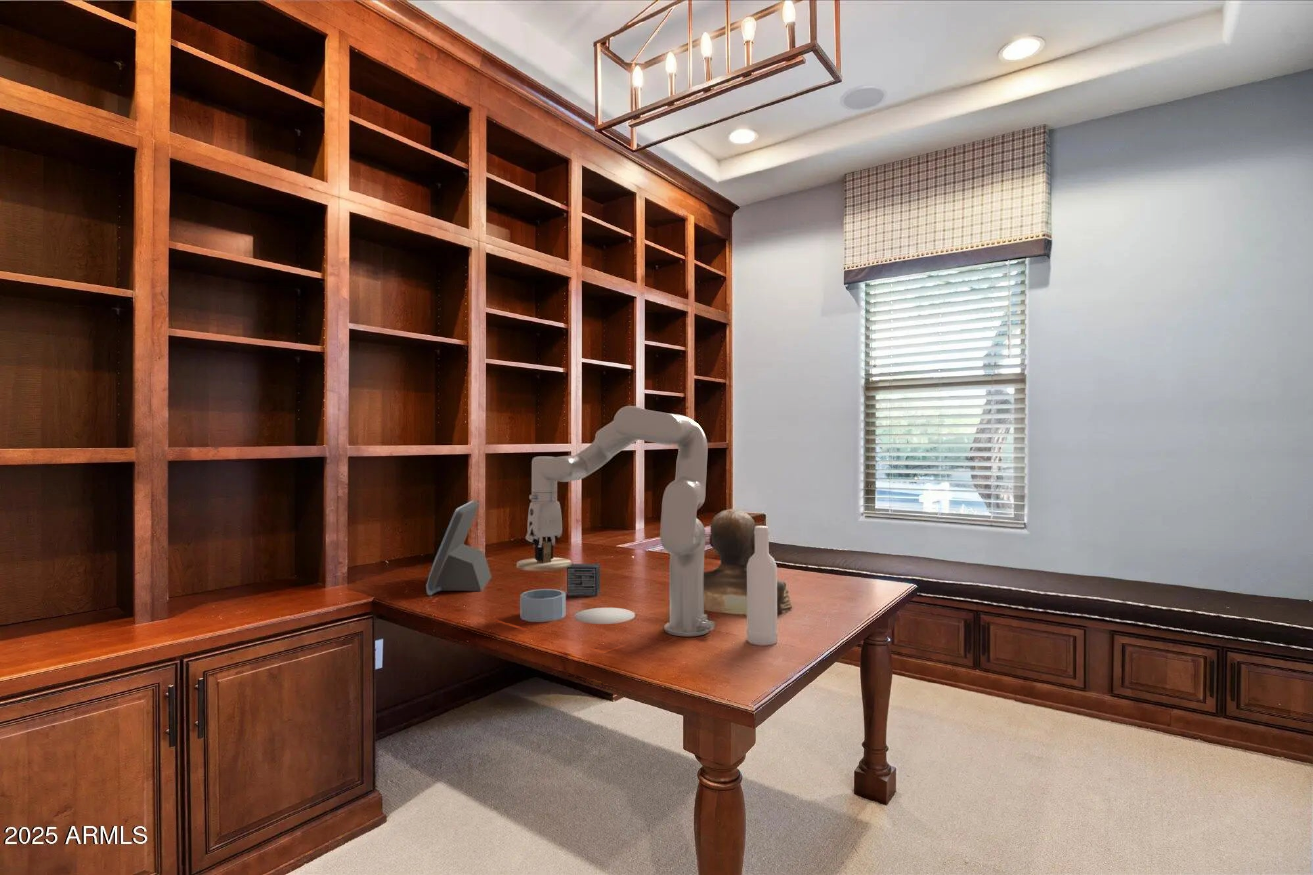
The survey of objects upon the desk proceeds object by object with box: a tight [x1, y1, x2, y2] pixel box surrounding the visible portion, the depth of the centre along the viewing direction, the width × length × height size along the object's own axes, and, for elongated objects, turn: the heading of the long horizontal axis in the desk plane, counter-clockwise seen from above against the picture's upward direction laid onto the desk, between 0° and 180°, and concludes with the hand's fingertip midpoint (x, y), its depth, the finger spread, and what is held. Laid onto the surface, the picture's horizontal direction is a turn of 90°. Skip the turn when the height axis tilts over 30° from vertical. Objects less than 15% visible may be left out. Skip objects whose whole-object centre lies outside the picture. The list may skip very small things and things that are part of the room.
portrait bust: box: [704, 508, 793, 616], centre depth 206 cm, size 21×35×31 cm, turn 63°
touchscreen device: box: [425, 500, 492, 597], centre depth 238 cm, size 35×20×30 cm, turn 6°
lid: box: [516, 540, 572, 572], centre depth 192 cm, size 16×16×7 cm
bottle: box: [746, 525, 779, 647], centre depth 169 cm, size 8×8×30 cm
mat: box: [574, 607, 636, 625], centre depth 192 cm, size 18×18×1 cm
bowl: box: [519, 588, 567, 623], centre depth 192 cm, size 13×13×7 cm
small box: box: [566, 563, 601, 598], centre depth 220 cm, size 11×6×10 cm, turn 84°
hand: (544, 558), depth 192 cm, fingers closed on lid, 3 cm apart
